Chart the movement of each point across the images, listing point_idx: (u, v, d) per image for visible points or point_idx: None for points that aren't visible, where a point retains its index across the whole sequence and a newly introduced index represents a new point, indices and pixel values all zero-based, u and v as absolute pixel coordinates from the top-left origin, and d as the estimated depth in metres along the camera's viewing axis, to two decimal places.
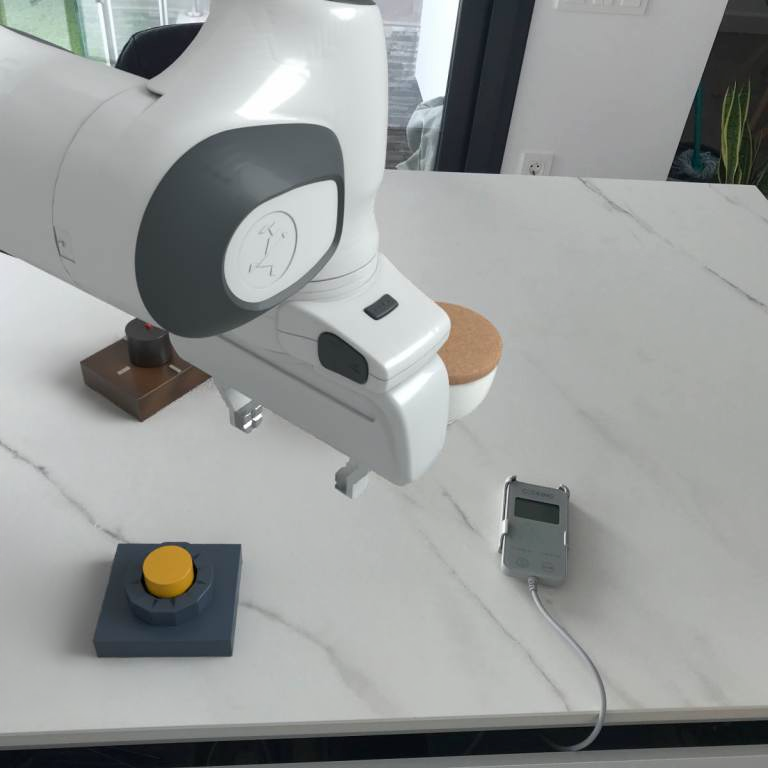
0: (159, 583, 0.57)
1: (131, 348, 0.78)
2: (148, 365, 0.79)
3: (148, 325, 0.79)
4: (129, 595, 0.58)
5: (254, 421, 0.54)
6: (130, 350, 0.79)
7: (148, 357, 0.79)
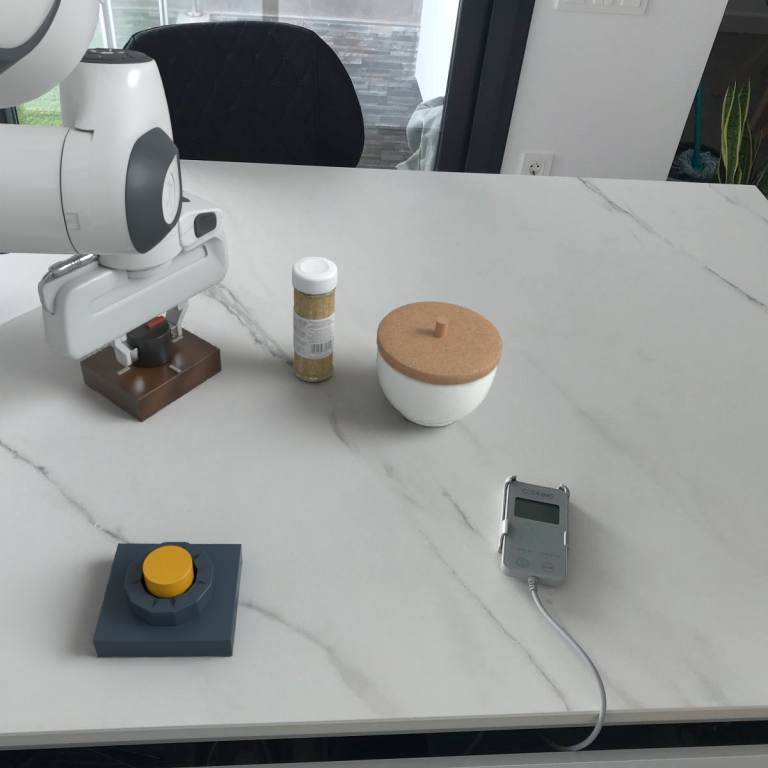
0: (159, 583, 0.57)
1: None
2: (148, 365, 0.79)
3: (148, 325, 0.79)
4: (129, 595, 0.58)
5: None
6: None
7: (148, 357, 0.79)
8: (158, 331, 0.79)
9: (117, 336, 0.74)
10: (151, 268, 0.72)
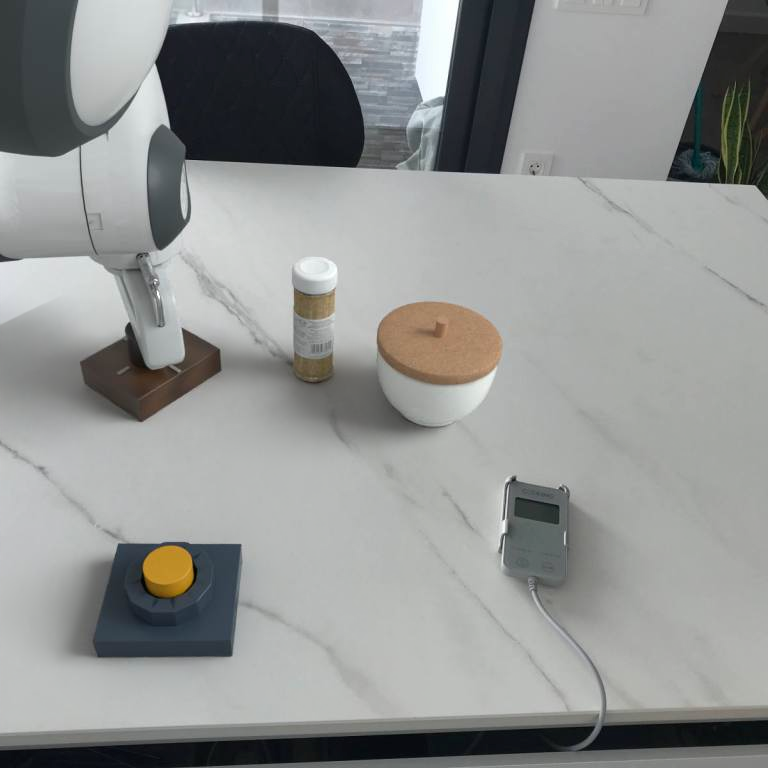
0: (159, 583, 0.57)
1: None
2: None
3: None
4: (129, 595, 0.58)
5: None
6: None
7: None
8: None
9: None
10: None
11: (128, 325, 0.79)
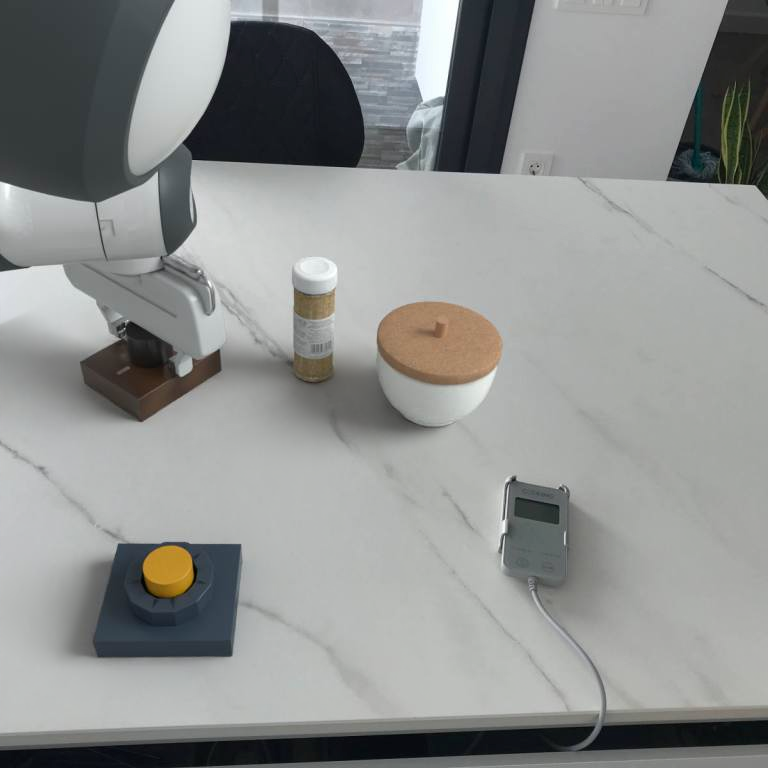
0: (159, 583, 0.57)
1: (163, 346, 0.79)
2: (172, 351, 0.81)
3: None
4: (129, 595, 0.58)
5: None
6: (162, 350, 0.79)
7: None
8: None
9: None
10: None
11: (127, 331, 0.78)
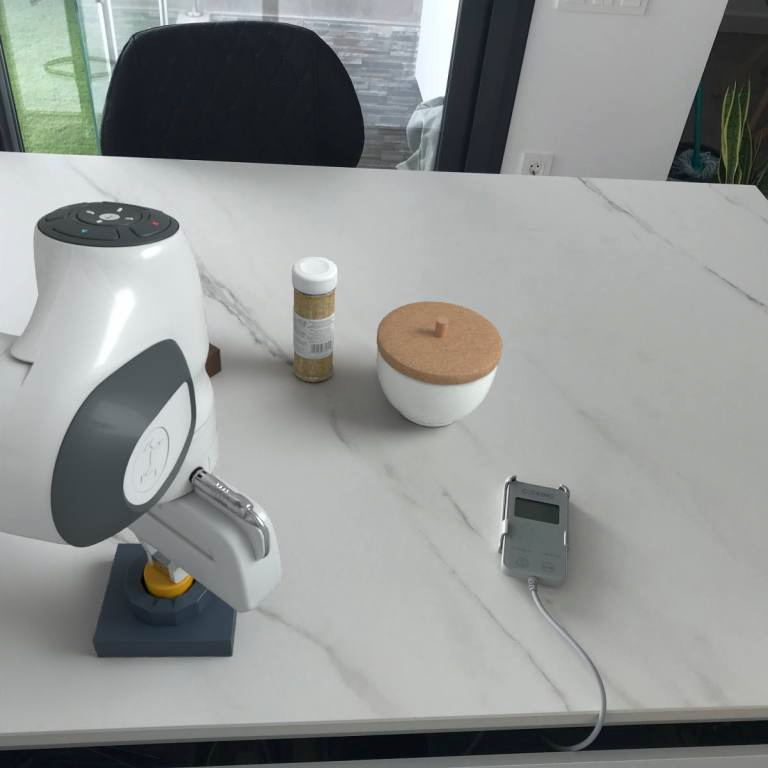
0: (160, 588, 0.58)
1: None
2: None
3: None
4: (129, 595, 0.58)
5: None
6: None
7: None
8: None
9: None
10: None
11: None
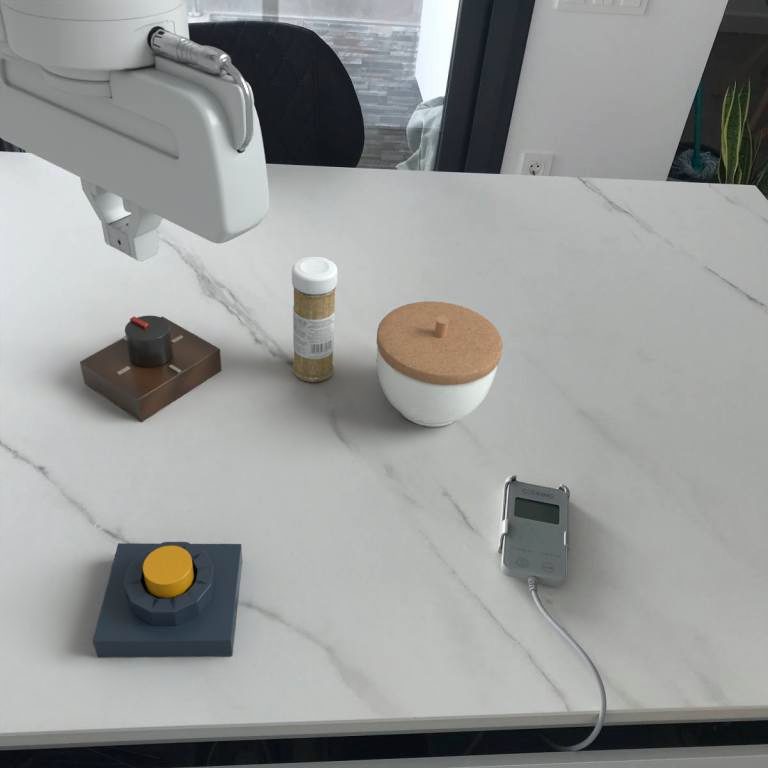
0: (159, 583, 0.57)
1: (163, 346, 0.79)
2: (172, 351, 0.81)
3: (147, 324, 0.79)
4: (129, 595, 0.58)
5: None
6: (162, 350, 0.79)
7: (171, 343, 0.81)
8: (154, 320, 0.80)
9: None
10: None
11: (127, 331, 0.78)
